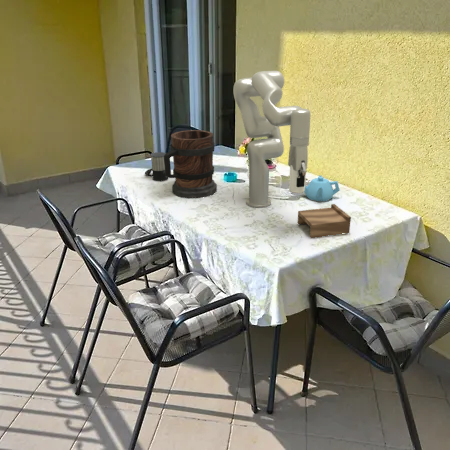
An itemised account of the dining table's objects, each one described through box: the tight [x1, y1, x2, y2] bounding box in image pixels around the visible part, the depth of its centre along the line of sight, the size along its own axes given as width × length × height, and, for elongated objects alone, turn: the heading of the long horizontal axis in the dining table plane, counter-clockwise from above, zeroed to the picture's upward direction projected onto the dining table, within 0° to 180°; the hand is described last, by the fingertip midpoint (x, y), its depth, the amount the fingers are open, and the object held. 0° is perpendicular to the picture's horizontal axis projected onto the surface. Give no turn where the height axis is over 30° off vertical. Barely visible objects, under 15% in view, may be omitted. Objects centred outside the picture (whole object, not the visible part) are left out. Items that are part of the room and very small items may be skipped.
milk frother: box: [144, 151, 169, 182], centre depth 248 cm, size 14×16×15 cm
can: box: [288, 163, 307, 194], centre depth 176 cm, size 6×6×12 cm
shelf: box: [297, 203, 352, 239], centre depth 183 cm, size 15×17×8 cm
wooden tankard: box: [164, 129, 218, 200], centre depth 222 cm, size 24×30×30 cm
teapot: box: [303, 175, 341, 202], centre depth 216 cm, size 15×15×11 cm
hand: (297, 183), depth 177 cm, fingers closed on can, 6 cm apart
